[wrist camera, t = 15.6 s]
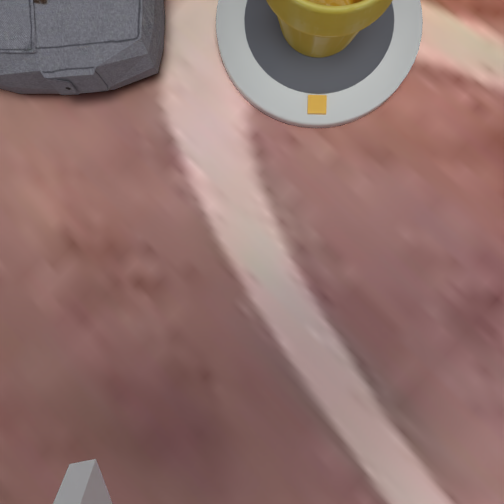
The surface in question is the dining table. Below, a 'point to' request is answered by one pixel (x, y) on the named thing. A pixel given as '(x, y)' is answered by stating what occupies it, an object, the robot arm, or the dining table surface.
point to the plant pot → (324, 22)
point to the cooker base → (316, 64)
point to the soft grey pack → (78, 44)
